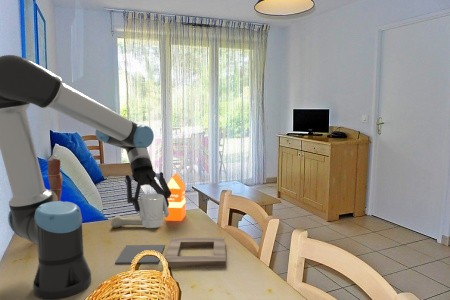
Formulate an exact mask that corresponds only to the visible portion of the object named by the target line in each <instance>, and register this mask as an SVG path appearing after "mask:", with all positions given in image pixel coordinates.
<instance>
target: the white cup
mask: <svg viewBox="0 0 450 300" xmlns="http://www.w3.org/2000/svg"><path fill="white" fill-rule="evenodd" d="M139 200H141V204H142V208H143V212H144V216H145V218H144V221H142V225H143V226H142V227H144V228H147V229H157V228H156V227H158V228H159V227H162V225H163V217H164V216H163V215H164V211H163V203H164V196H163V195H161V194H157V193H145V194H142V195H139Z"/></svg>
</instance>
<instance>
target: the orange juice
mask: <svg viewBox="0 0 450 300" xmlns="http://www.w3.org/2000/svg"><path fill="white" fill-rule="evenodd" d="M167 185H168V187H169V189H170V191H171V196H170V198H167V199H168V202H169V206H168V210H169V215H168V217H166V218H165V217H164V220H165V221H173V222H176V221H177V222H178V221H179V222H182V221H183V220H184V218H185V217H186V215H187V213H186V211H187V210H186V184H185V183H184V181H183V180H182V179H181V177H180V176H179V174H178V173H175V174H173V176H171V178H170V179H169V181H168V182H167Z"/></svg>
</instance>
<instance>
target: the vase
mask: <svg viewBox="0 0 450 300" xmlns="http://www.w3.org/2000/svg"><path fill="white" fill-rule="evenodd" d="M47 177H48V184H49V189H48V190H49V191H51V192H52V195H53V199H54V201H61V197H62V190H63V186H62V184H63V181H64V177H63V175H62V172H61V159H60V158H59V159H57V158H48V160H47Z"/></svg>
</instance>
